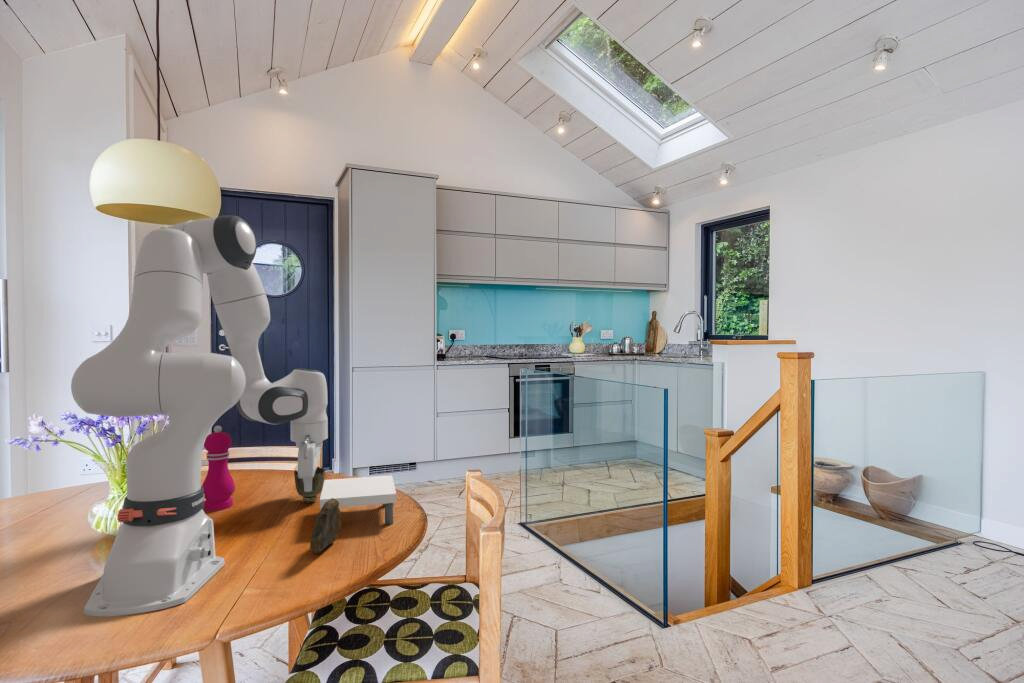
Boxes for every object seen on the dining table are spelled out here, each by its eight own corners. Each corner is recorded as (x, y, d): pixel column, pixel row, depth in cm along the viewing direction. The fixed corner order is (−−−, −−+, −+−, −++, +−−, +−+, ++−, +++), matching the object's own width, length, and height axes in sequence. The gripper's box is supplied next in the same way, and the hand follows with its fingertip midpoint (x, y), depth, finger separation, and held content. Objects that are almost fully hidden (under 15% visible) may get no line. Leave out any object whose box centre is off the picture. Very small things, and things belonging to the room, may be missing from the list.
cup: (289, 506, 132) (289, 474, 132) (300, 497, 139) (300, 466, 139) (320, 506, 132) (319, 473, 132) (329, 496, 139) (329, 466, 139)
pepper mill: (224, 512, 127) (224, 428, 127) (194, 512, 127) (194, 428, 127) (240, 502, 135) (240, 423, 134) (212, 502, 135) (211, 423, 134)
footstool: (396, 525, 119) (396, 493, 119) (319, 532, 115) (319, 499, 115) (392, 503, 135) (392, 475, 134) (324, 508, 130) (324, 479, 130)
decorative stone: (344, 492, 108) (327, 488, 109) (321, 517, 99) (304, 513, 100) (340, 537, 111) (324, 533, 111) (318, 565, 102) (301, 562, 102)
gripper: (319, 439, 126) (319, 498, 127) (325, 425, 146) (325, 475, 146) (290, 441, 125) (291, 500, 125) (300, 426, 144) (300, 477, 145)
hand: (309, 486), depth 136 cm, fingers closed on cup, 6 cm apart
